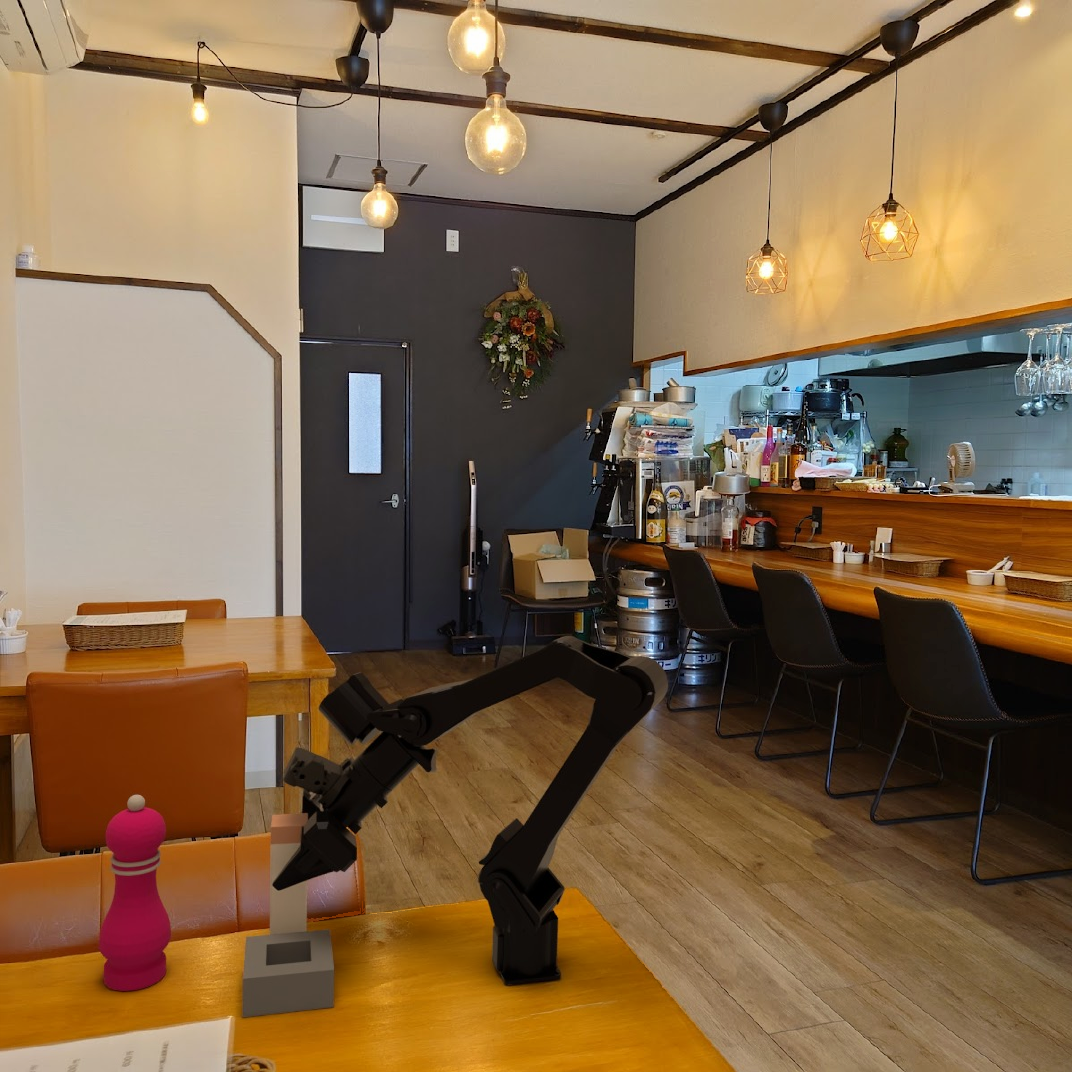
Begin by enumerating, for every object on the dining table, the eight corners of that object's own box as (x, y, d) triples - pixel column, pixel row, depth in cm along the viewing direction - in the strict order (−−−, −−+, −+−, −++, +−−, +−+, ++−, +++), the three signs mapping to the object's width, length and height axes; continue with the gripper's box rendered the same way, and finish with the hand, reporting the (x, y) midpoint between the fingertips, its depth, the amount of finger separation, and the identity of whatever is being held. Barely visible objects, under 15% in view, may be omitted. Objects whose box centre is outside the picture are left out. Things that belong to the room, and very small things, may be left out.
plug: (306, 936, 113) (307, 813, 112) (305, 953, 109) (307, 825, 108) (271, 939, 112) (272, 814, 111) (269, 956, 108) (270, 827, 107)
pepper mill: (145, 998, 99) (146, 809, 98) (83, 989, 100) (83, 802, 99) (184, 964, 106) (185, 787, 105) (126, 956, 107) (127, 781, 106)
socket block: (329, 963, 107) (329, 929, 107) (333, 1007, 98) (334, 969, 98) (245, 972, 104) (246, 936, 104) (242, 1017, 96) (242, 978, 96)
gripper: (325, 707, 119) (232, 797, 117) (327, 749, 101) (217, 857, 99) (388, 766, 121) (297, 856, 119) (400, 818, 103) (293, 925, 101)
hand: (276, 870), depth 110 cm, fingers open, 9 cm apart
